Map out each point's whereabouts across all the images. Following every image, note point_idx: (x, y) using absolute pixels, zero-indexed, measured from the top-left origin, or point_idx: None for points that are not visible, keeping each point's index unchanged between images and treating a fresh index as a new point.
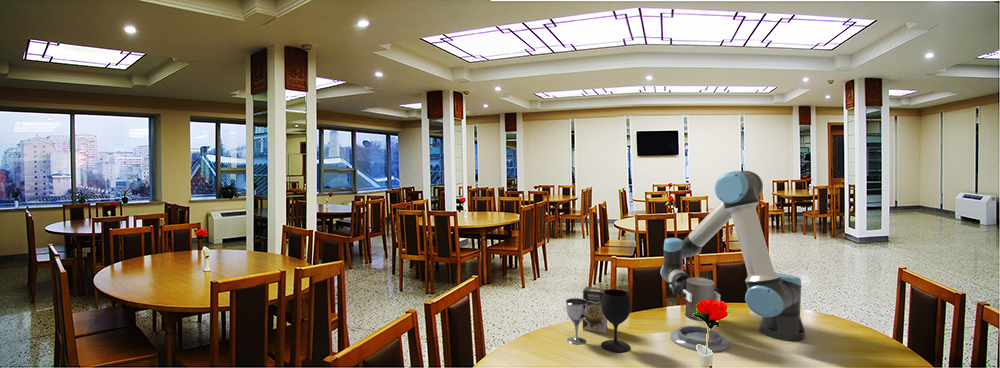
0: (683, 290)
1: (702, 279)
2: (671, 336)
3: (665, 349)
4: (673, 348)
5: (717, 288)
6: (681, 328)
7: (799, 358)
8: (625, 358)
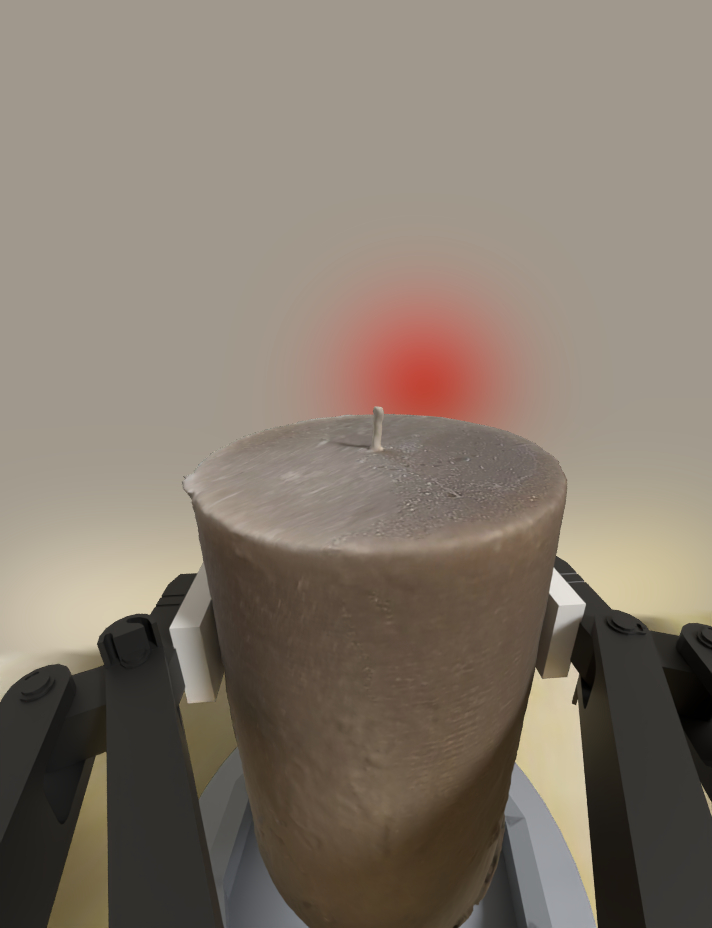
0: (571, 594)
1: (311, 479)
2: (582, 889)
3: (574, 709)
4: (536, 724)
5: (27, 678)
6: None
7: (16, 662)
8: (698, 620)
